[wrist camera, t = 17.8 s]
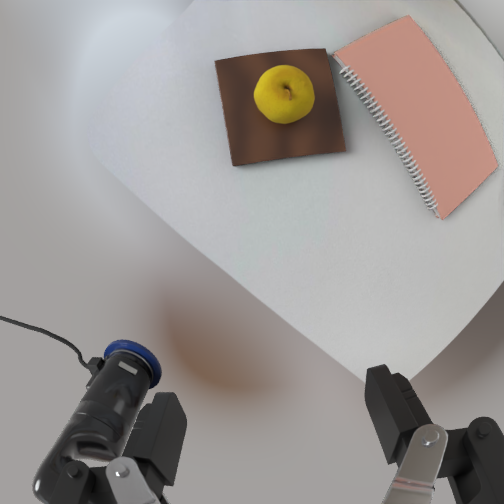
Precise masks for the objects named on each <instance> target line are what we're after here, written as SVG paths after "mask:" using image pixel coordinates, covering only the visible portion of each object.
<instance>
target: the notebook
mask: <svg viewBox="0 0 504 504" xmlns="http://www.w3.org/2000/svg"><path fill="white" fill-rule="evenodd" d="M334 53H335V54H333V55H332V57H333V58H334V59H335V60H336V61H337V62H338V64H339V65H340V66H341V67H342V68H343V69H342V70H341V71H340V72H339V73H340V74H341V73H343V72H346V74H345V75H344V76H343V78H345V77H347V76H349V77H350V78H349V79H348V80H347V82H350V81H351V80H352V81H353V83H352V84H351V85H350V86H351V87H352V86H353V85H355V84H356V86H357V87H356V88H355V89H353V90H354V91H355V90H357V89H358V88H359V89H360V92H358V93H357V95H359V94H361V93H363V95H364V96H362V97H361V98H360V99H361V100H362V99H363V98H365V97H366V99H367V100H366V101H364V102H363V104H366V103H368V102H369V103H370V105H368V106H367V108H370V107H373V109H372V110H371V111H370V113H372V112H374V111H376V113H375V114H374V115H373V117H377V116H378V115H379V118H378V119H377V120H376V122H379V121H381V120H382V121H383V122H381V123H380V124H379V126H383V125H385V127H383V128H382V131H385V130H387V129H388V131H387V132H386V133H385V135H386V136H387V135H390V134H391V135H390V136H389V137H388V140H392V139H393V140H392V141H391V144H392V145H393V144H395V145H394V149H397V151H396V152H397V153H401V154H400V155H399V157H400V158H403V157H404V158H403V159H402V162H405V164H404V166H405V167H407V171H410V172H409V175H410V176H412V180H414V184H417V185H416V187H417V186H418V185H419V184H421V187H417V188H418V189H419V190H418V191H419V192H420V193H421V196H422V197H423V200H424V198H425V197H427V198H428V199H426V200H424V201H425V205H427V209H429V210H430V209H433V210H434V212H435V215H436V217H437V218H439V217H441V219H442V220H443V219H444V218H445V217H446V216H448V215H449V214H450V213H451V212H452V211H453V210H454V209H455V208H456V207H457V206H458V205H459V204H460V203H462V202H463V201H464V200H465V199H466V198H467V197H468V196H469V195H470V194H471V193H472V192H473V191H474V190H475V189H476V188H477V187H478V186H479V185H480V184H481V183H482V182H483V181H484V180H485V179H486V178H487V177H488V176H489V175H490V174H491V173H492V172H493V171H494V170H495V169H496V168H497V167H498V163H497V160H496V158H495V155H494V153H493V150H492V148H491V145H490V143H489V141H488V139H487V136H486V134H485V132H484V130H483V128H482V126H481V123H480V121H479V119H478V117H477V115H476V113H475V111H474V109H473V108H472V106H471V104H470V102H469V100H468V98H467V97H466V95H465V93H464V91H463V89H462V88H461V86H460V84H459V83H458V81H457V79H456V78H455V76H454V75H453V73H452V71H451V70H450V68H449V67H448V65H447V64H446V62H445V61H444V59H443V58H442V56H441V55H440V54H439V52H438V51H437V49H436V48H435V47H434V45H433V44H432V43H431V41H430V40H429V39H428V37H427V36H426V35H425V33H424V32H423V31H422V30H421V28H420V27H419V26H418V25H417V23H416V22H415V21H414V20H413V19H412V17H411V16H410V15H406V16H404V17H402V18H400V19H397V20H395V21H393V22H391V23H389V24H387V25H385V26H382V27H380V28H378V29H376V30H374V31H372V32H370V33H368V34H367V35H365V36H363V37H361V38H359V39H357V40H355V41H353V42H351V43H350V44H348V45H346V46H344V47H342V48H341V49H339V50H337V51H335V52H334ZM392 136H393V137H392ZM394 141H395V142H394ZM396 143H397V144H396ZM397 145H398V146H397ZM396 146H397V147H396ZM398 148H399V149H398ZM399 150H401V151H399ZM398 151H399V152H398ZM402 154H404V155H403V156H401V155H402ZM405 158H406V159H407V160H404V159H405ZM403 160H404V161H403ZM407 163H409V164H408V165H406V164H407ZM410 167H411V168H412V169H409V168H410ZM408 169H409V170H408ZM411 172H414V173H413V174H411ZM415 175H416V177H417V178H413V177H414V176H415ZM417 180H418V181H419V182H417V183H415V182H416V181H417ZM421 188H423V191H420V189H421ZM424 192H425V194H426V195H422V194H423V193H424ZM427 201H429V202H430V203H429V204H426V202H427ZM429 205H431V206H432V207H431V208H428V206H429Z"/></svg>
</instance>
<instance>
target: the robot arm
mask: <svg viewBox="0 0 504 504" xmlns="http://www.w3.org/2000/svg"><path fill="white" fill-rule="evenodd" d="M0 320H3V321H6V322H9V323H12V324H16V325H18V326H21V327H24V328H27V329H30V330H34V331H38V332H41V333H43V334H46V335H48V336H50V337H52V338H54V339H56V340H59V341H60V342H63V343H64V344H66V345H68V346H69V347H71V348H72V349H73V350H74V351H75V352H76V353H77V354H78V359H79V362H80V363H81V364H82V365H83V366H84V367H85V368H87V369H89V371H90V372H91V374H92V377H91V379H90V380H89V382H88V384H87V385H86V388H87V392H86V394H85V395H84V397H83V398H82V400H81V402H80V403H79V405H78V407H77V408H76V410H75V412H74V413H73V415H72V416H71V418H70V420H69V421H68V423H67V424H66V426H65V427H64V429H63V431H62V433H61V434H60V436H59V437H58V439H57V441H56V442H55V444H54V445H53V447H52V448H51V450H50V451H49V453H48V454H47V456H46V457H45V459H44V460H43V461H42V463H41V465H40V467H39V468H38V470H37V472H36V474H35V477H34V480H33V485H32V490H33V494H34V496H35V497H36V498H37V499H38V500H39V501H41V502H42V503H44V504H170V502H169V501H168V499H167V498H166V496H165V494H164V493H163V488H164V485H166V486H173V485H174V481H175V476H176V472H177V467H178V462H179V458H180V454H181V450H182V445H183V441H184V437H185V432H186V428H187V419H186V415H185V413H184V411H183V409H182V407H181V405H180V403H179V400H178V398H177V396H176V394H175V393H173V392H166V393H165V392H159V393H156V394H155V396H154V399H153V402H152V404H146V405H145V406H144V407H143V408H142V409H141V410H140V407H141V405H142V402H143V400H144V398H145V395H146V393H147V391H148V389H149V386H150V384H151V383H152V381H153V378H154V371H153V368H152V366H151V364H150V363H149V362H148V360H147V359H146V358H144V357H143V356H142V355H141V354H139V353H137V352H135V351H133V350H130V349H125V348H119V349H116V350H114V351H113V352H112V353H111V354H110V355H106V357H105V358H104V359H103V358H102V357H92V358H91V360H90V361H89V362H88V364H87V363H85V362H84V360H83V358H82V354H81V352H80V351H79V349H78V348H77V347H75V346H74V345H73V344H72V343H70V342H69V341H67V340H66V339H64V338H62V337H59V336H57V335H55V334H53V333H51V332H49V331H47V330H44V329H42V328H38V327H35V326H31V325H28V324H24V323H21V322H18V321H15V320H12V319H9V318H6V317H2V316H0ZM365 402H366V406H367V409H368V411H369V414H370V417H371V419H372V422H373V424H374V427H375V430H376V432H377V435H378V438H379V441H380V443H381V446H382V449H383V451H384V454H385V457H386V460H387V463H388V465H389V464H392V463H395V462H396V463H397V465H398V470H397V473H396V475H395V477H394V479H393V481H392V483H391V485H390V487H389V489H388V491H387V494H386V495H385V497H384V499H383V501H382V503H381V504H430V503H431V500H432V497H433V495H434V491H435V488H434V484H435V481H436V479H437V478H444V477H447V478H448V481H449V483H450V486H451V489H452V492H453V495H454V498H455V501H456V504H504V435H503V433H502V431H501V430H500V428H499V426H498V425H497V423H496V422H495V421H494V420H493V419H491V418H489V417H479V418H476V419H475V420H473V421H472V422H471V423H470V425H469V427H468V428H462V429H455V430H445V429H444V428H442V427H441V426H439V425H436V424H433V423H432V421H431V419H430V418H429V416H428V414H427V412H426V410H425V409H424V407H423V405H422V403H421V401H420V400H419V398H418V397H417V395H416V393H415V391H414V390H413V389H412V386H411V384H410V383H409V381H408V379H407V378H405V377H404V376H402V375H401V374H400V373H395V374H391V373H390V371H389V369H388V367H387V366H386V365H385V364H383V365H379V366H376V367H372V368H368V369H367V375H366V385H365ZM139 410H140V412H139ZM138 412H139V414H138ZM137 415H138V416H137ZM136 417H137V419H136ZM135 420H136V422H135ZM134 422H135V424H134ZM133 424H134V426H133ZM132 427H133V429H132ZM131 429H132V431H131ZM130 432H131V434H130ZM129 434H130V436H129ZM128 437H129V439H128ZM127 439H128V441H127ZM126 442H127V444H126ZM125 444H126V446H125ZM124 447H125V449H124ZM123 450H124V451H123ZM122 452H123V454H122ZM121 455H122V456H121ZM77 459H91V460H97V461H102V462H109V464H108V465H107V466H105V467H92V468H89V467H88V466H87V465H86V464H85V463H84V462H82V461H78V460H77Z"/></svg>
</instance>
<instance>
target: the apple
mask: <svg viewBox="0 0 504 504" xmlns="http://www.w3.org/2000/svg"><path fill="white" fill-rule="evenodd" d="M254 99H255V102H256V105H257V107H258V109H259V110H260V111H261V112H262V113H263V114H264V115H265V116H266V117H267V118H268V119H269V120H271V121H272V122H275V123H282V124H287V123H291V122H294V121H296V120H299V119H301V118H302V117H304V116H306V115H307V114H308V113H309V112H310V111H311V109H312V107H313V104H314V100H315V96H314V90H313V85H312V83H311V81H310V79H309V77H308V76H307V75H306V74H305V73H304V72H303V71H301V70H300V69H298V68H296V67H293V66H289V65H280V66H276V67H273V68H271V69H269V70H267V71H266V72H265V73H264V74H263V75H262V76H261V77H260V79H259V81H258V83H257V86H256V88H255V91H254Z"/></svg>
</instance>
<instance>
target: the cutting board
mask: <svg viewBox="0 0 504 504" xmlns="http://www.w3.org/2000/svg"><path fill="white" fill-rule="evenodd" d="M280 65H289V66H293V67H296V68H298V69H300V70H301V71H303V72H304V73H305V74H306V75H307V76H308V77H309V79H310V81H311V83H312V85H313V90H314V96H315V100H314V104H313V107H312V109H311V111H310V112H309V113H308V114H307V115H306V116H304V117H302V118H301V119H299V120H296V121H294V122H291V123H287V124H282V123H275V122H272V121H271V120H269V119H268V118H267V117H266V116H265V115H264V114H263V113H262V112H261V111H260V110H259V109H258V107H257V105H256V102H255V99H254V91H255V88H256V86H257V83H258V81H259V79H260V77H261V76H262V75H263V74H264V73H265V72H266V71H267V70H269V69H271V68H273V67H276V66H280ZM215 67H216V73H217V79H218V85H219V91H220V96H221V102H222V108H223V114H224V119H225V125H226V131H227V137H228V142H229V148H230V154H231V159H232V165H233V166H238V165H244V164H250V163H256V162H263V161H269V160H276V159H283V158H290V157H298V156H306V155H315V154H324V153H334V152H344V151H346V148H345V141H344V135H343V129H342V123H341V118H340V112H339V107H338V102H337V97H336V92H335V87H334V82H333V78H332V73H331V69H330V65H329V61H328V57H327V53H326V49H301V50H287V51H277V52H267V53H259V54H252V55H245V56H239V57H233V58H227V59H222V60H217V61H215Z"/></svg>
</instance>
